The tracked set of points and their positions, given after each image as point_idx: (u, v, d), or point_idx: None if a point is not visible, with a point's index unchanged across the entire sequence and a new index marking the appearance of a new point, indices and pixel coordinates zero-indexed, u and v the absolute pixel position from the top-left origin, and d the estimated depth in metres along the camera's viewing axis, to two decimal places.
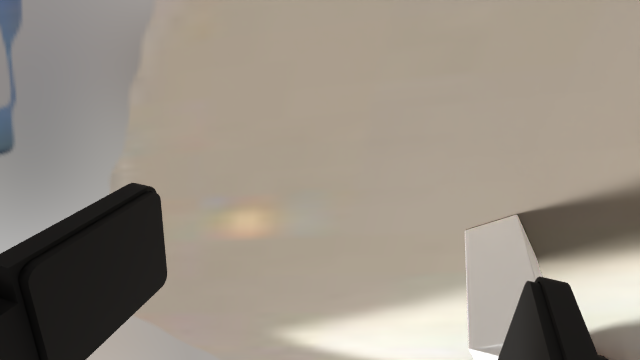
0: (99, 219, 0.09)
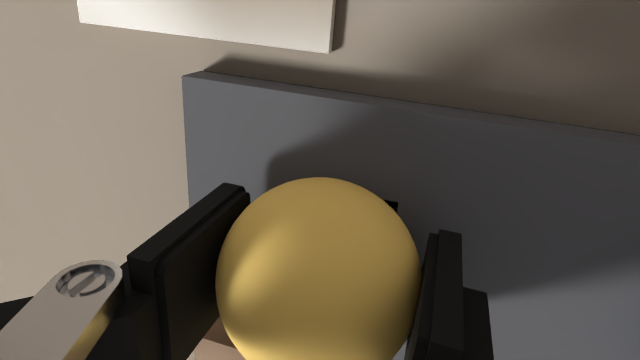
0: (208, 217, 0.10)
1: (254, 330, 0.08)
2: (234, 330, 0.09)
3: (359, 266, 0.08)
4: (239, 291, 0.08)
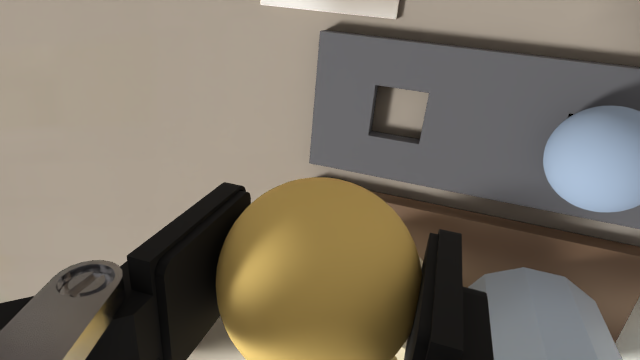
0: (208, 217, 0.10)
1: (255, 330, 0.08)
2: (234, 330, 0.09)
3: (359, 266, 0.08)
4: (239, 292, 0.08)
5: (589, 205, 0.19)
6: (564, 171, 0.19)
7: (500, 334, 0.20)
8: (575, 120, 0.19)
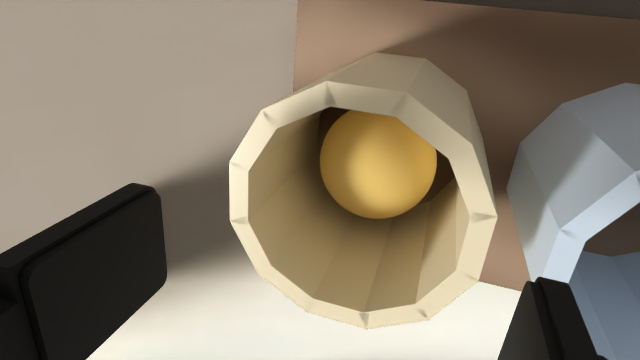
0: (99, 219, 0.09)
1: (351, 173, 0.16)
2: (338, 178, 0.16)
3: (406, 139, 0.16)
4: (342, 155, 0.16)
5: None
6: None
7: (619, 135, 0.12)
8: None
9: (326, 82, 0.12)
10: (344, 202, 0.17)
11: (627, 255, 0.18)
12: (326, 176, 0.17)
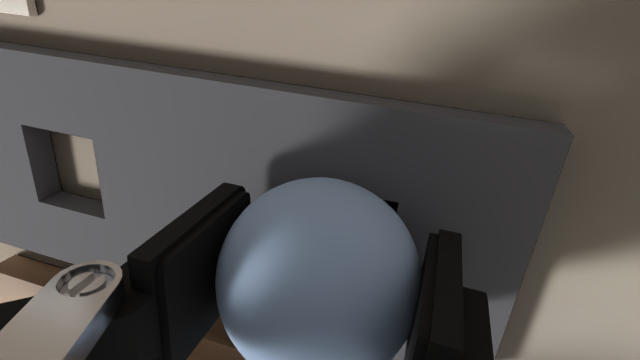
0: (208, 217, 0.10)
1: None
2: None
3: None
4: None
5: None
6: (219, 311, 0.09)
7: None
8: (248, 208, 0.10)
9: None
10: None
11: None
12: None
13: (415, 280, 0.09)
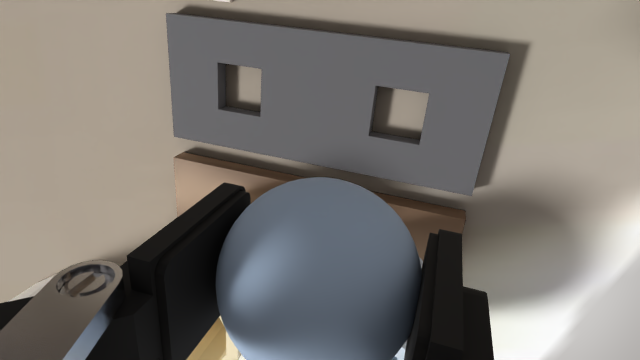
0: (208, 217, 0.10)
1: None
2: None
3: None
4: None
5: None
6: (219, 311, 0.09)
7: None
8: (248, 208, 0.10)
9: None
10: None
11: None
12: None
13: (415, 280, 0.09)
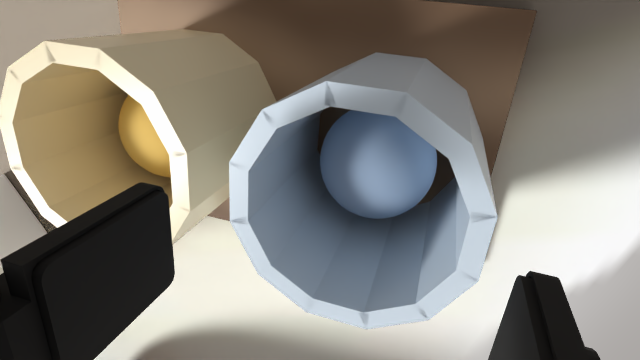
0: (109, 218, 0.09)
1: (127, 137, 0.18)
2: (122, 141, 0.19)
3: None
4: (121, 121, 0.19)
5: (353, 211, 0.17)
6: (325, 174, 0.17)
7: (303, 88, 0.15)
8: (339, 119, 0.17)
9: (44, 42, 0.14)
10: None
11: None
12: None
13: (434, 153, 0.17)
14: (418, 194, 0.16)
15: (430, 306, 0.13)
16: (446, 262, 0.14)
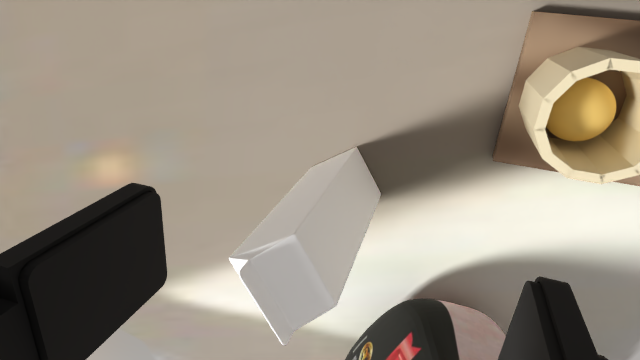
0: (99, 219, 0.09)
1: (572, 115, 0.31)
2: (562, 118, 0.31)
3: (604, 97, 0.30)
4: (566, 106, 0.31)
5: None
6: None
7: None
8: None
9: (610, 58, 0.26)
10: (561, 131, 0.32)
11: None
12: (552, 117, 0.32)
13: None
14: None
15: None
16: None
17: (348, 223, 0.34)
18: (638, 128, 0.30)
